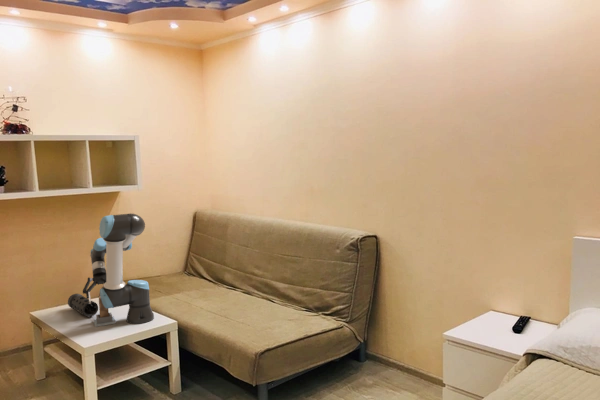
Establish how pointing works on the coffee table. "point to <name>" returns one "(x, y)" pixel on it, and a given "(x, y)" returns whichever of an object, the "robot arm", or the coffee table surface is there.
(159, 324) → the coffee table surface
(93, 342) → the coffee table surface
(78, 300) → the muzzle brake
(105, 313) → the walnut post
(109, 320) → the socket stand
